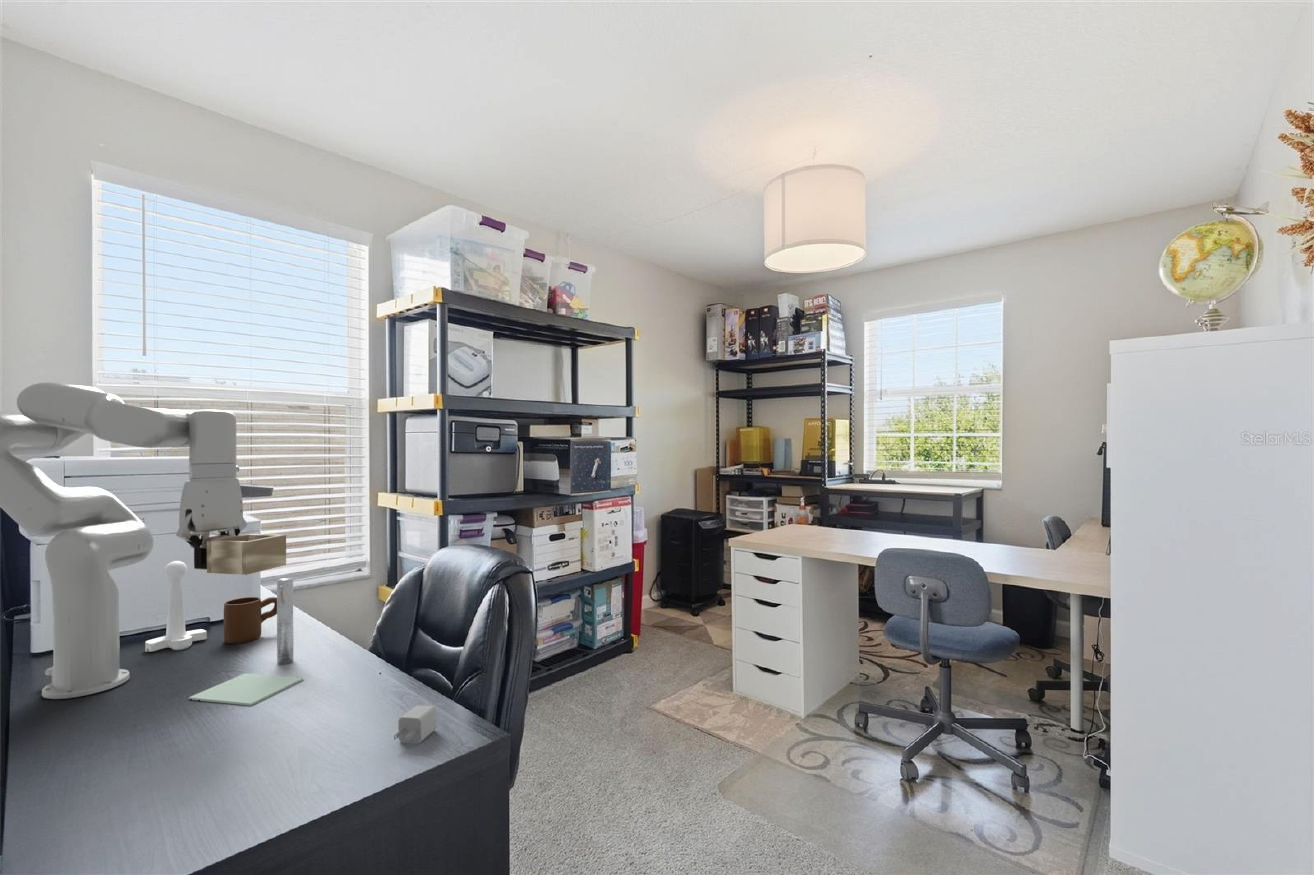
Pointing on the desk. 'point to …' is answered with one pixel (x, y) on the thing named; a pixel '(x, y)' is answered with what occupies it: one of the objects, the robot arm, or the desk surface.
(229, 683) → the mat
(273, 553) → the beige wooden open box
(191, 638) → the joystick
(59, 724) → the desk surface
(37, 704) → the desk surface
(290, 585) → the post
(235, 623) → the mug
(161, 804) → the desk surface
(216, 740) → the desk surface
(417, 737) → the usb wall charger
